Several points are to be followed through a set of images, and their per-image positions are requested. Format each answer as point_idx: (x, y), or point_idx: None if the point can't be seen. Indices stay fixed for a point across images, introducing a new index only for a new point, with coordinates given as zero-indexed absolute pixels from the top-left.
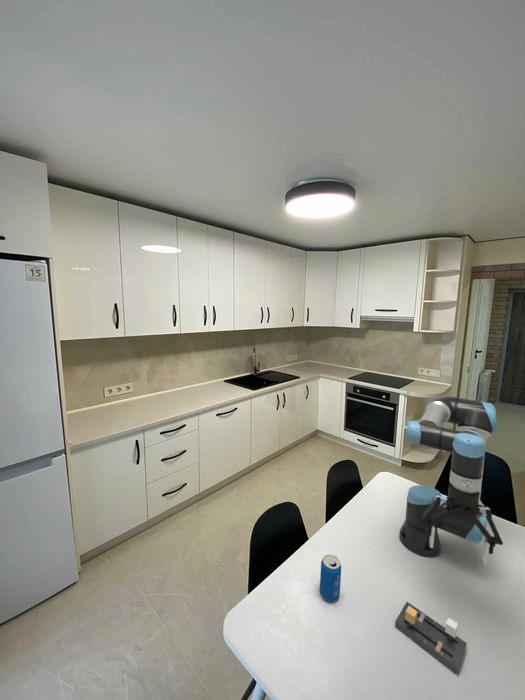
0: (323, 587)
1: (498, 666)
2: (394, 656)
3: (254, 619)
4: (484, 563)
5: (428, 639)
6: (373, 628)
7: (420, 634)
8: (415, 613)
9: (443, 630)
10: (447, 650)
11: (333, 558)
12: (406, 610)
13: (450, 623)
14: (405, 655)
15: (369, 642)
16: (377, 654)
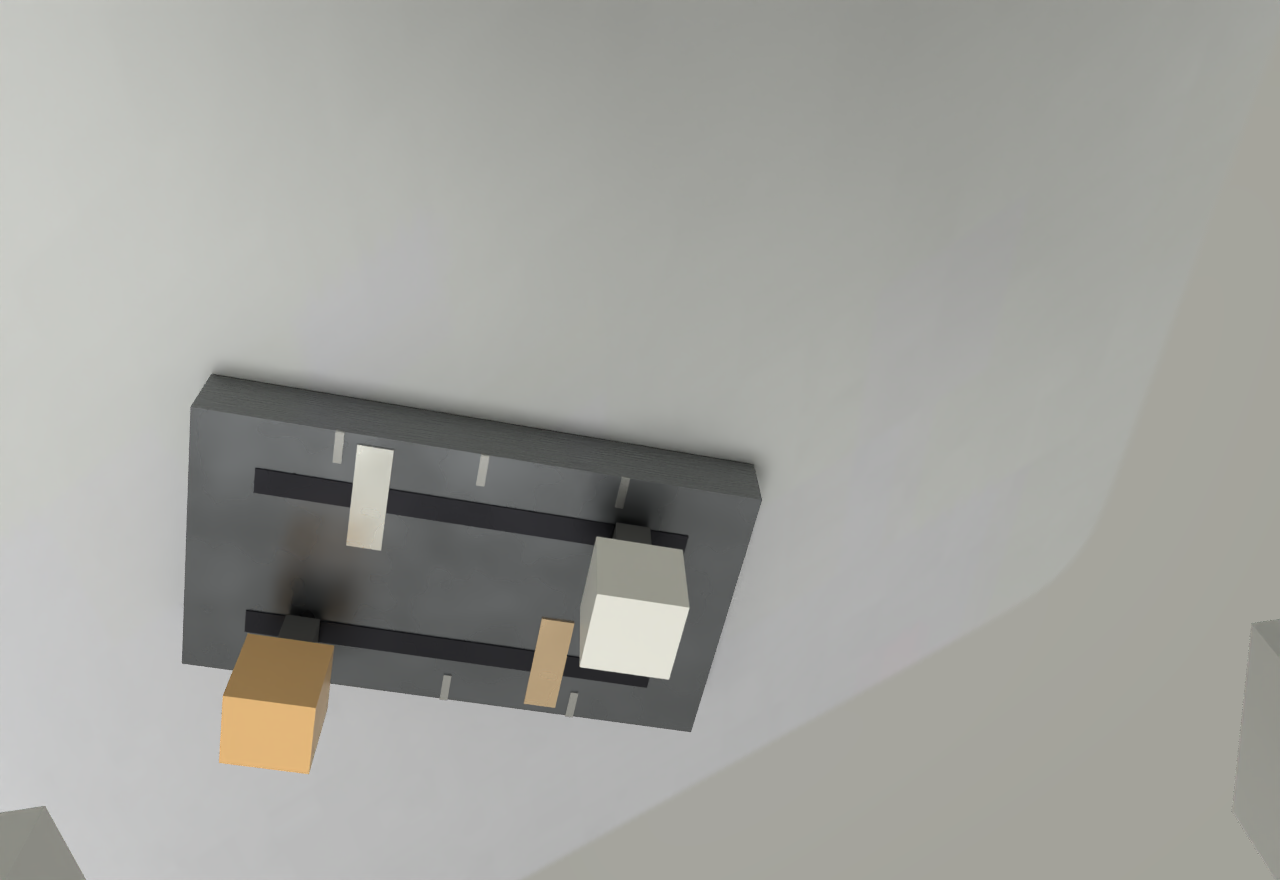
0: None
1: (987, 452)
2: (283, 809)
3: None
4: (1257, 834)
5: (464, 658)
6: (70, 726)
7: (398, 654)
8: (305, 733)
9: (568, 505)
10: None
11: None
12: (223, 757)
13: (620, 644)
14: (345, 764)
15: (101, 824)
16: (184, 857)
